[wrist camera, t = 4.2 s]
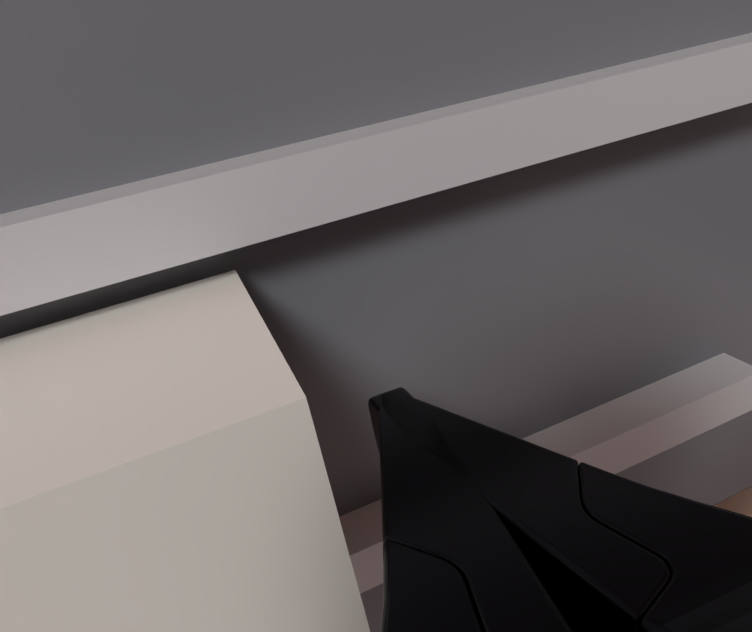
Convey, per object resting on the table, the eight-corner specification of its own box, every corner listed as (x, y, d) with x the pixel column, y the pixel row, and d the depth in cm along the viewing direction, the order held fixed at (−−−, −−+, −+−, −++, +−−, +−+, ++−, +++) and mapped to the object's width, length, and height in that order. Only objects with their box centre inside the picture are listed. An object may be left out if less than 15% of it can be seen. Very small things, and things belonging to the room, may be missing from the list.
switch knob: (235, 269, 9) (306, 397, 5) (310, 519, 11) (396, 727, 7) (-69, 358, 8) (-235, 593, 4) (82, 615, 10) (57, 911, 6)
